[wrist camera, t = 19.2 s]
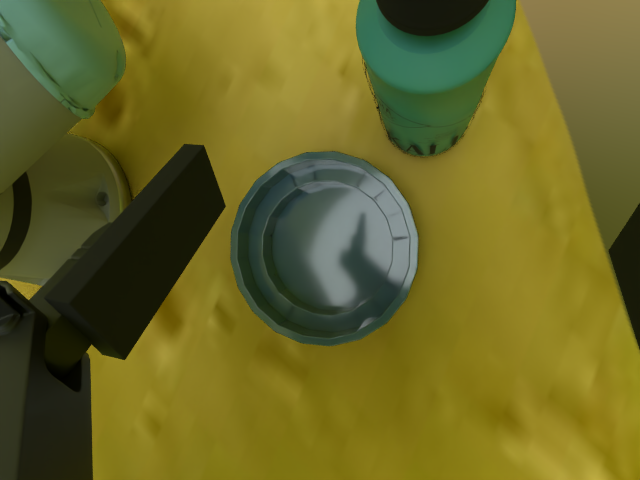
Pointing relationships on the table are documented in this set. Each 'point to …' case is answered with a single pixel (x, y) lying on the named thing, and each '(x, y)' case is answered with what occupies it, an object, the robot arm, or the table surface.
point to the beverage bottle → (430, 64)
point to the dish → (324, 248)
